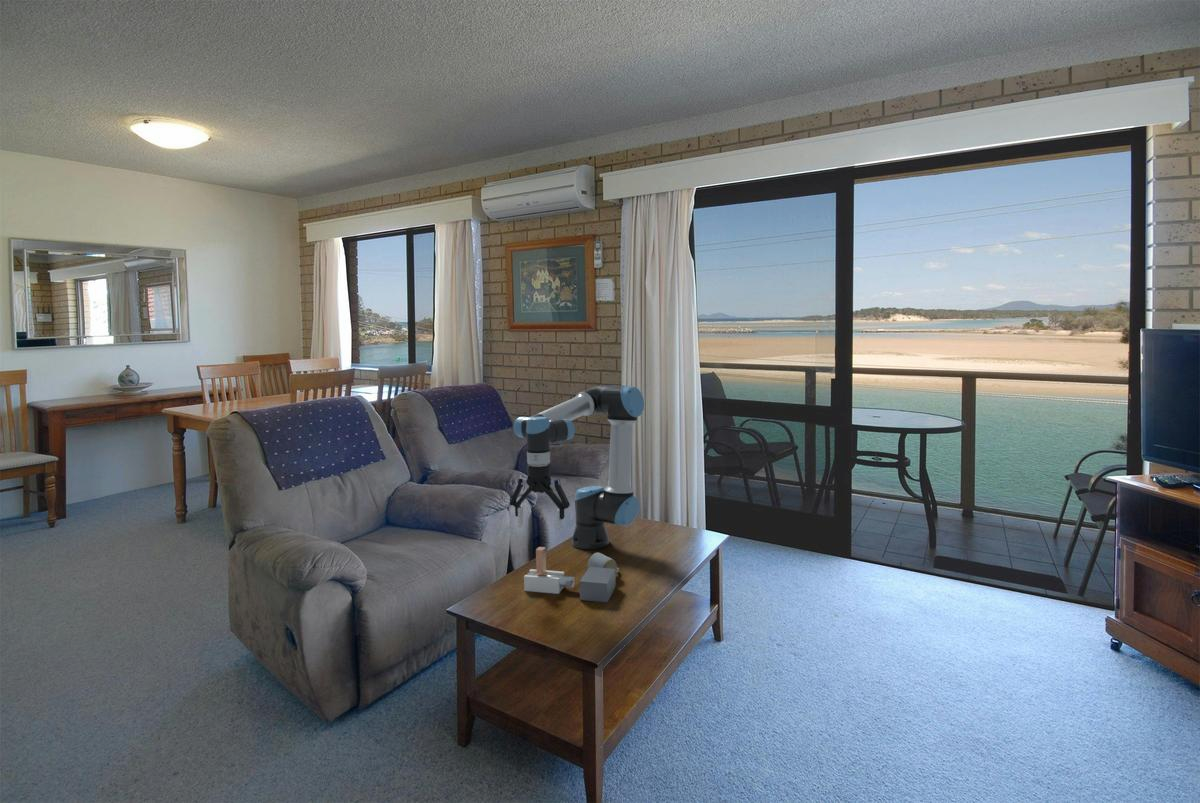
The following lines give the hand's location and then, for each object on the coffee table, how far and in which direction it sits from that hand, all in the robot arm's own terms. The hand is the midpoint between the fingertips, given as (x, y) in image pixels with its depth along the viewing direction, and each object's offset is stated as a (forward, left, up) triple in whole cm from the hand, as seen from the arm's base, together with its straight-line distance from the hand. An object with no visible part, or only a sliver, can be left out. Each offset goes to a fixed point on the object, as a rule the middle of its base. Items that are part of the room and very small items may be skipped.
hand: (539, 527), depth 203 cm
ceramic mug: (-16, +18, -21) cm, 32 cm away
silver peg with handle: (0, +3, -20) cm, 20 cm away
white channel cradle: (0, +1, -21) cm, 21 cm away
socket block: (0, +19, -21) cm, 28 cm away
